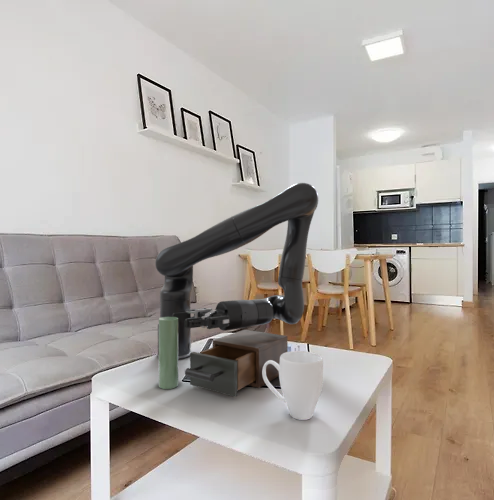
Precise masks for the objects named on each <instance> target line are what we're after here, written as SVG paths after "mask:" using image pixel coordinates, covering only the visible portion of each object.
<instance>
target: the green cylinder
mask: <svg viewBox="0 0 494 500" xmlns="http://www.w3.org/2000/svg"><path fill="white" fill-rule="evenodd" d="M158 324H159V355H158V387H159V388H160V389H162V390H171V389H175V388H177V387H178V386H179V359H178V318H177V317H161V318H160V317H159V318H158Z"/></svg>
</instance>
